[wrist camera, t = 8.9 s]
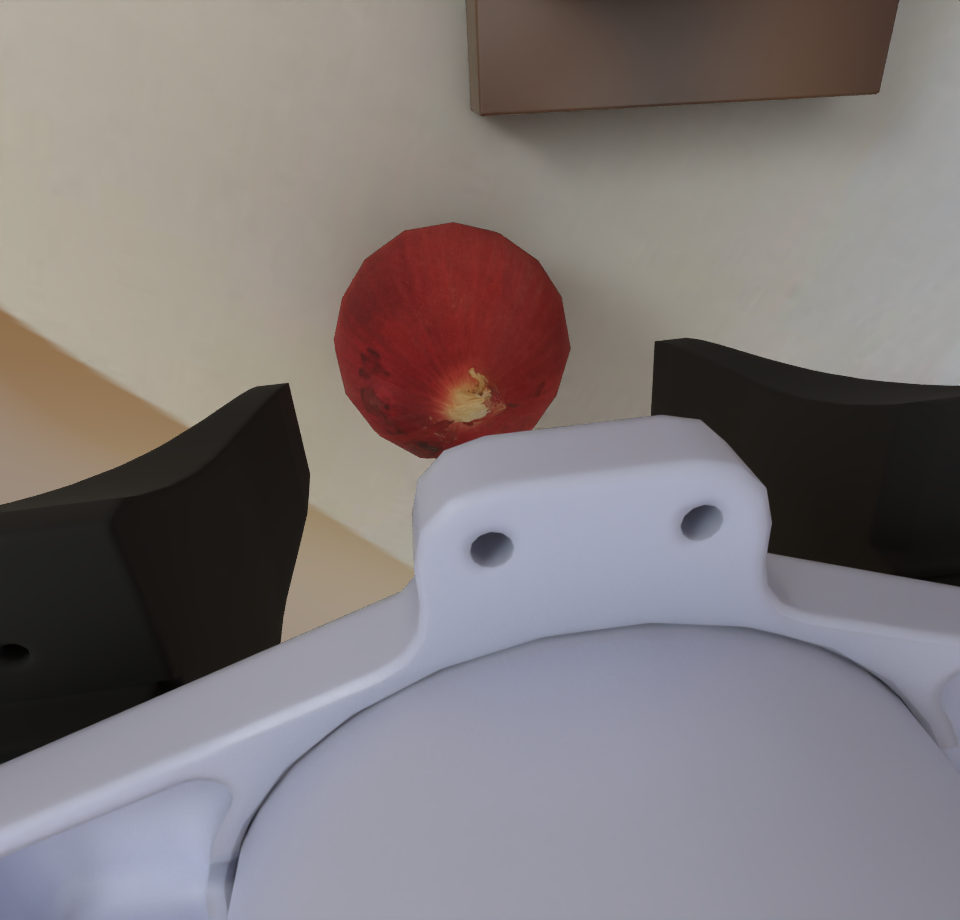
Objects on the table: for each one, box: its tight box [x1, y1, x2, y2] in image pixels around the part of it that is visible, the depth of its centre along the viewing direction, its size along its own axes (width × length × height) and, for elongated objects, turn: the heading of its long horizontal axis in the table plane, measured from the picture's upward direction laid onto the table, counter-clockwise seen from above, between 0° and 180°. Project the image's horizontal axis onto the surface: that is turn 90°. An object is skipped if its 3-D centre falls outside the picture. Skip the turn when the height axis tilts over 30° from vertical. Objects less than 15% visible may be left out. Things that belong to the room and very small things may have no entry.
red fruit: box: [334, 222, 571, 458], centre depth 17 cm, size 6×6×8 cm
